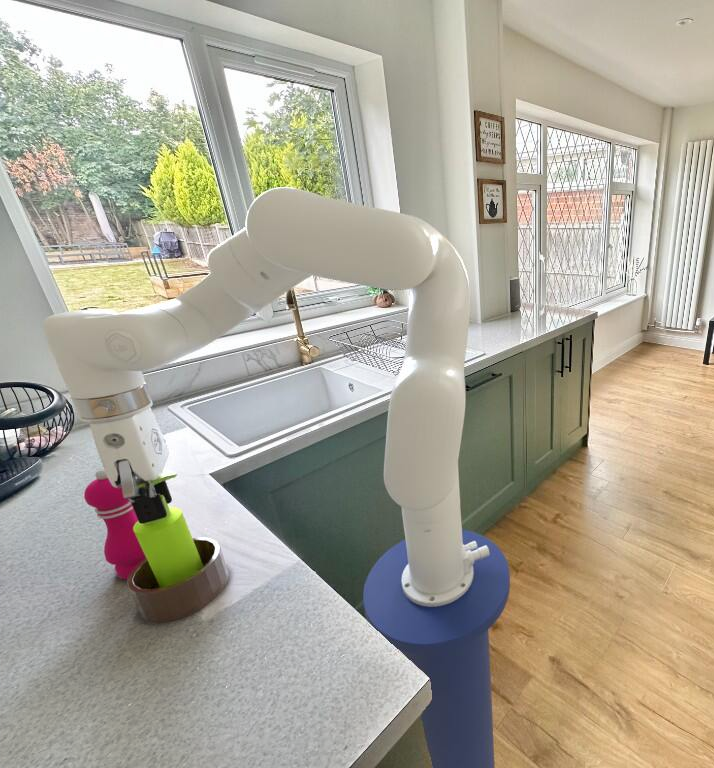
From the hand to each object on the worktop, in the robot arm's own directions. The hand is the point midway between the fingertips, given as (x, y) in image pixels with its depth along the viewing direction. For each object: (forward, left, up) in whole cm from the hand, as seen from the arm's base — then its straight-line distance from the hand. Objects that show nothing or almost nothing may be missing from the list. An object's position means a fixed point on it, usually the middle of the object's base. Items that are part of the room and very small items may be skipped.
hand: (156, 511), depth 63 cm
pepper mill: (+8, -11, -16) cm, 21 cm away
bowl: (0, 0, -16) cm, 16 cm away
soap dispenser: (0, -1, -15) cm, 15 cm away
